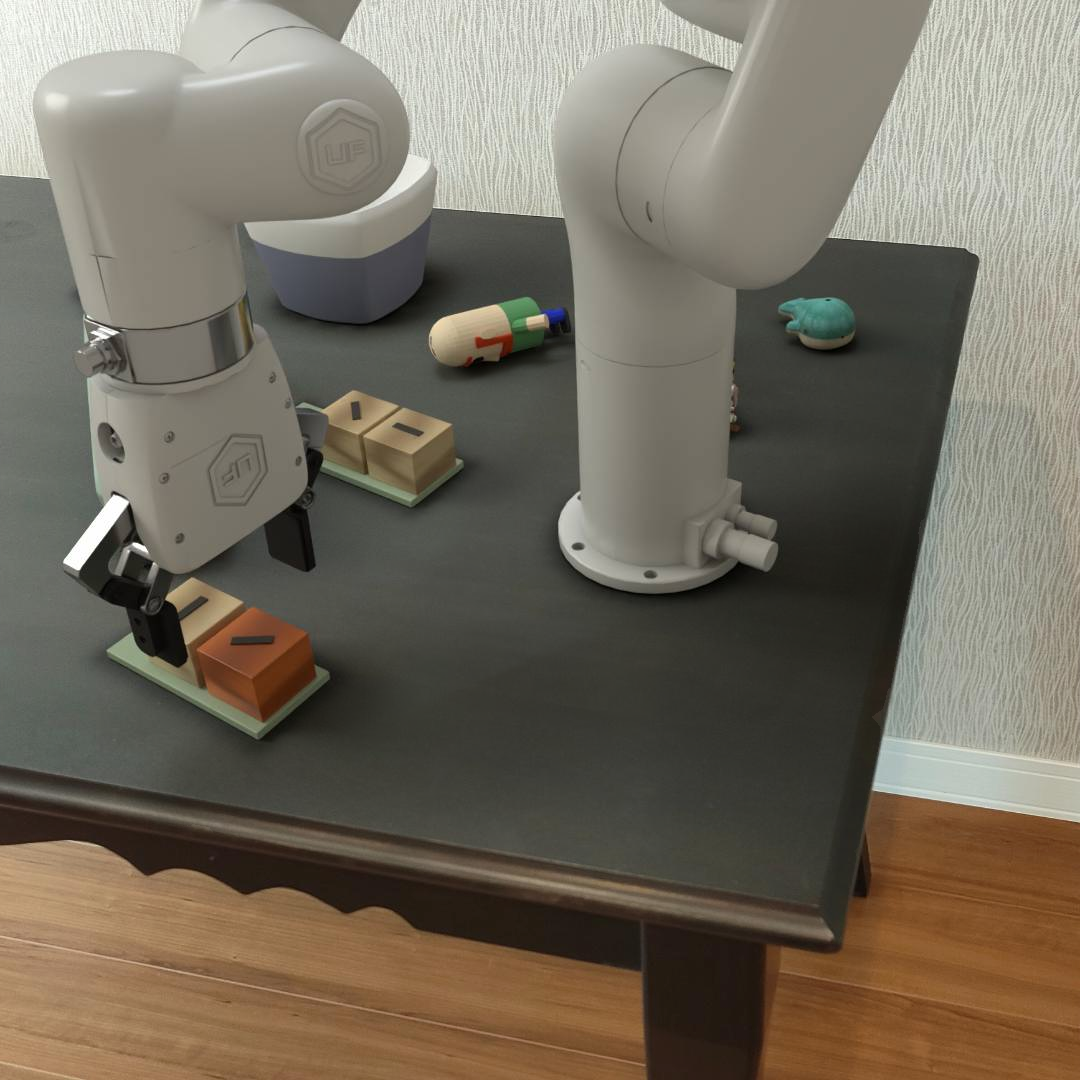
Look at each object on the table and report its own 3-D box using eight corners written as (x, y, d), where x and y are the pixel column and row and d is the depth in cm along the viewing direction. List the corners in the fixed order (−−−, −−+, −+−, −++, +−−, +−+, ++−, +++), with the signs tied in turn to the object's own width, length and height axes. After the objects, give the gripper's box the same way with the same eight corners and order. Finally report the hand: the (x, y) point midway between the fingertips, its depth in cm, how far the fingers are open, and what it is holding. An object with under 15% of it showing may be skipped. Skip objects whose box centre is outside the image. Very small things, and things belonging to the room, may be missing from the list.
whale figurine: (810, 362, 104) (814, 319, 101) (760, 324, 109) (763, 283, 107) (869, 344, 105) (875, 302, 103) (818, 308, 111) (822, 268, 108)
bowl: (330, 248, 125) (313, 135, 119) (468, 273, 120) (458, 156, 113) (234, 316, 115) (209, 197, 108) (379, 348, 109) (363, 224, 102)
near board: (330, 678, 76) (329, 671, 76) (258, 740, 73) (256, 733, 72) (181, 603, 83) (179, 596, 82) (108, 657, 79) (105, 650, 79)
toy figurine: (543, 344, 112) (419, 377, 107) (532, 293, 111) (406, 323, 106) (589, 341, 105) (458, 375, 100) (578, 286, 104) (445, 318, 99)
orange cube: (317, 677, 76) (308, 631, 74) (263, 723, 73) (251, 677, 71) (263, 649, 78) (252, 604, 76) (208, 693, 75) (195, 647, 73)
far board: (464, 467, 94) (463, 460, 93) (411, 508, 90) (411, 501, 90) (304, 408, 101) (303, 401, 101) (250, 443, 98) (248, 437, 97)
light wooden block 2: (456, 465, 93) (452, 422, 91) (417, 495, 90) (411, 452, 88) (409, 447, 95) (403, 405, 93) (368, 476, 92) (362, 434, 90)
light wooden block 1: (404, 445, 95) (399, 404, 93) (364, 475, 92) (358, 433, 90) (359, 429, 97) (353, 388, 95) (318, 457, 95) (311, 415, 92)
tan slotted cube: (254, 645, 78) (244, 600, 76) (199, 689, 75) (187, 643, 73) (203, 620, 80) (191, 575, 78) (148, 661, 78) (134, 615, 75)
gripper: (76, 432, 54) (157, 726, 64) (353, 281, 65) (385, 551, 75) (-33, 383, 57) (61, 669, 67) (248, 248, 69) (292, 510, 79)
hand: (231, 607), depth 71 cm, fingers open, 9 cm apart
